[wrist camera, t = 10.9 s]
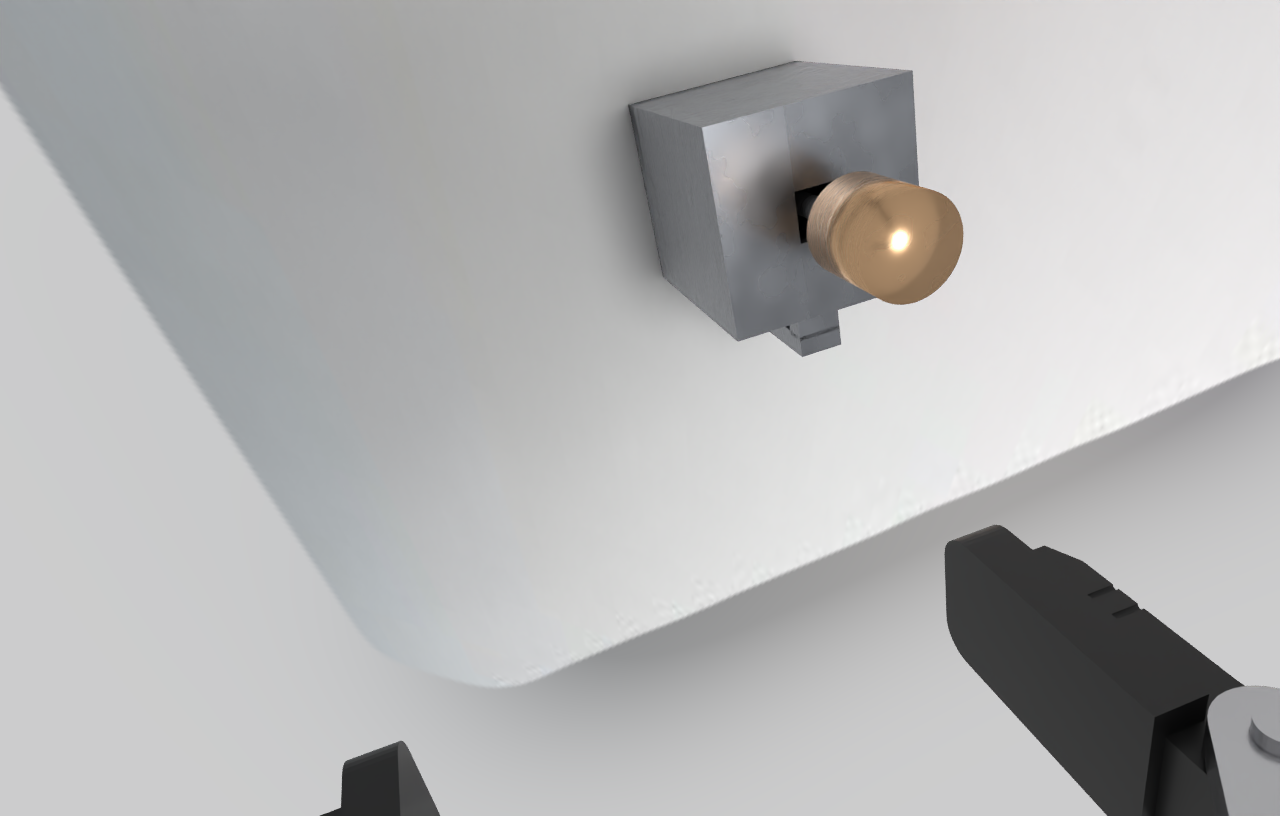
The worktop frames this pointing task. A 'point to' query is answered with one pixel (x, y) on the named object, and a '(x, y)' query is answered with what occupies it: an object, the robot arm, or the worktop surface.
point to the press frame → (767, 187)
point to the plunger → (883, 235)
